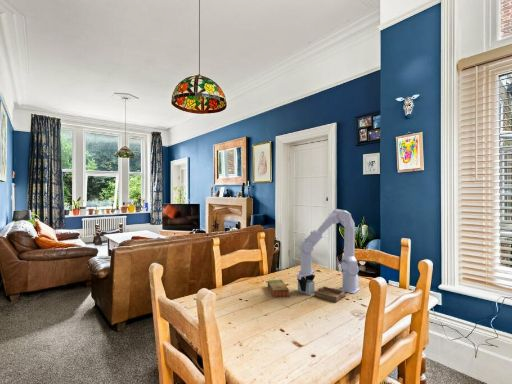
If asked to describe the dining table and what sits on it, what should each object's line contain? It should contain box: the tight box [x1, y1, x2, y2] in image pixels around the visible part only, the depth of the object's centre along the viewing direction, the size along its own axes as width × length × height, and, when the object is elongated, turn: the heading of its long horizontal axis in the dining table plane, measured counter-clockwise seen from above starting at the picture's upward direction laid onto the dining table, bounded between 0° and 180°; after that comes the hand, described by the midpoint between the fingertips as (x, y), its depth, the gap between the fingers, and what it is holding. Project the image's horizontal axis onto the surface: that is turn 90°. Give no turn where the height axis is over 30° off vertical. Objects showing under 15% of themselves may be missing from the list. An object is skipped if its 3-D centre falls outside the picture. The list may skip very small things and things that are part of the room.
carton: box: [267, 279, 290, 299], centre depth 146 cm, size 8×16×4 cm, turn 8°
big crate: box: [313, 286, 346, 303], centre depth 139 cm, size 10×12×2 cm
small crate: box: [297, 280, 315, 296], centre depth 144 cm, size 5×7×6 cm
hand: (306, 289), depth 144 cm, fingers closed on small crate, 5 cm apart
